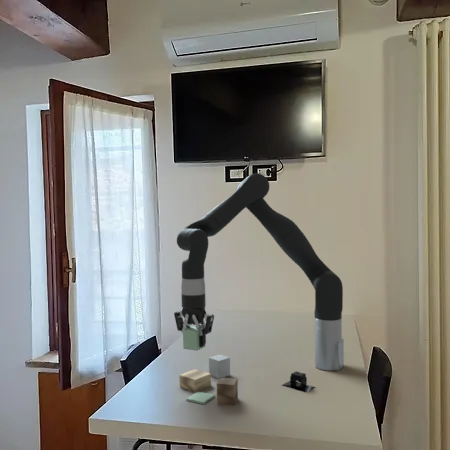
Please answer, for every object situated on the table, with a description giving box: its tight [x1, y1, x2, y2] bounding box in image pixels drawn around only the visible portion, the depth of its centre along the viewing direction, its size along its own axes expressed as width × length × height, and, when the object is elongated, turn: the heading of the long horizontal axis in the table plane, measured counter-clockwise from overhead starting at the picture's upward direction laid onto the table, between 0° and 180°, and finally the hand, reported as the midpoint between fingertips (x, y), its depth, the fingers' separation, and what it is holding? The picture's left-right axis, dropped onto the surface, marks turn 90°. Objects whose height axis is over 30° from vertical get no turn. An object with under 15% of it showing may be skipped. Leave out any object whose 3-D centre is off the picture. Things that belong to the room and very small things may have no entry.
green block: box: [182, 325, 206, 352], centre depth 155 cm, size 5×5×6 cm
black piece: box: [281, 371, 317, 393], centre depth 154 cm, size 12×7×5 cm, turn 48°
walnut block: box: [216, 377, 239, 406], centre depth 143 cm, size 5×5×6 cm
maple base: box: [179, 368, 212, 393], centre depth 156 cm, size 7×7×4 cm
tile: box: [186, 391, 215, 405], centre depth 145 cm, size 6×6×1 cm
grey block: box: [208, 354, 231, 380], centre depth 165 cm, size 5×5×6 cm
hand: (194, 345), depth 155 cm, fingers closed on green block, 5 cm apart
